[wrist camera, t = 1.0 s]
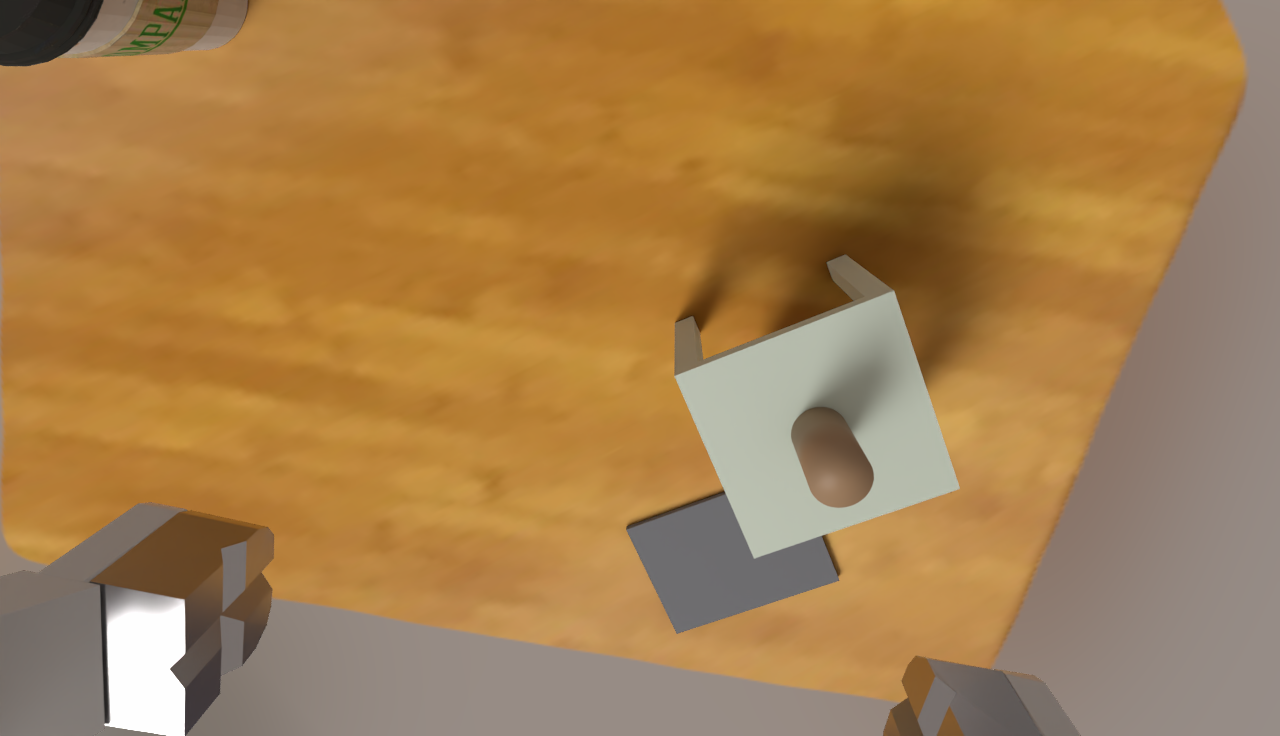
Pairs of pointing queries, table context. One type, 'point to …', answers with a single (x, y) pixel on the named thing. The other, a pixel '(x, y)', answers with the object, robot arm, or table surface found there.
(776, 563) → the mat
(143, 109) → the table surface
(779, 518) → the cover
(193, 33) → the coffee cup
